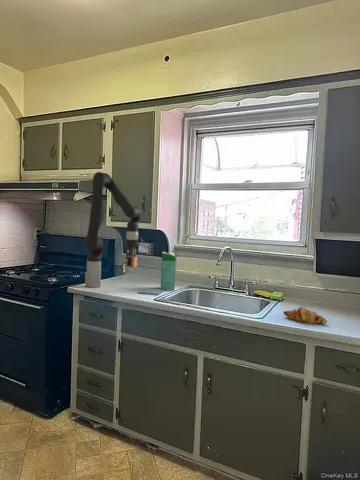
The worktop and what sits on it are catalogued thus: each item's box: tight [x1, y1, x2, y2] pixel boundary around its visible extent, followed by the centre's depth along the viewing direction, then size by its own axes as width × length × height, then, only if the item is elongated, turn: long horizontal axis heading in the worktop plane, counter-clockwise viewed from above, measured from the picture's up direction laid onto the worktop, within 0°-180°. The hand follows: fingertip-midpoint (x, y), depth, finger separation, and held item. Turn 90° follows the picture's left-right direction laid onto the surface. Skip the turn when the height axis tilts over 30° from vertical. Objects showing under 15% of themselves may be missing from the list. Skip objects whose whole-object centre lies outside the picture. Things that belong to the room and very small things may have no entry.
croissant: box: [283, 306, 328, 325], centre depth 179 cm, size 21×10×8 cm, turn 61°
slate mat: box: [137, 287, 164, 296], centre depth 228 cm, size 13×13×1 cm
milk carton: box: [160, 251, 177, 292], centre depth 239 cm, size 9×9×25 cm
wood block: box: [124, 256, 138, 268], centre depth 225 cm, size 6×6×6 cm
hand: (131, 264), depth 225 cm, fingers closed on wood block, 6 cm apart
